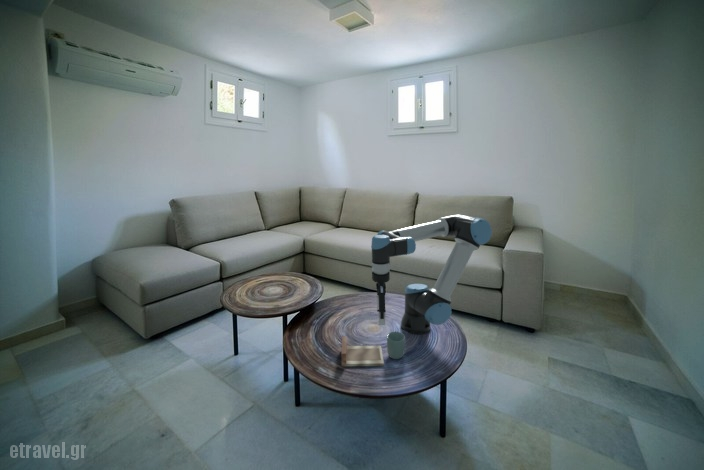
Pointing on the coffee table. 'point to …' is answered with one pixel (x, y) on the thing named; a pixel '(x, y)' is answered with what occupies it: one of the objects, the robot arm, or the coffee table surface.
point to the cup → (395, 345)
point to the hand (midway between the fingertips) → (381, 316)
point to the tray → (361, 355)
